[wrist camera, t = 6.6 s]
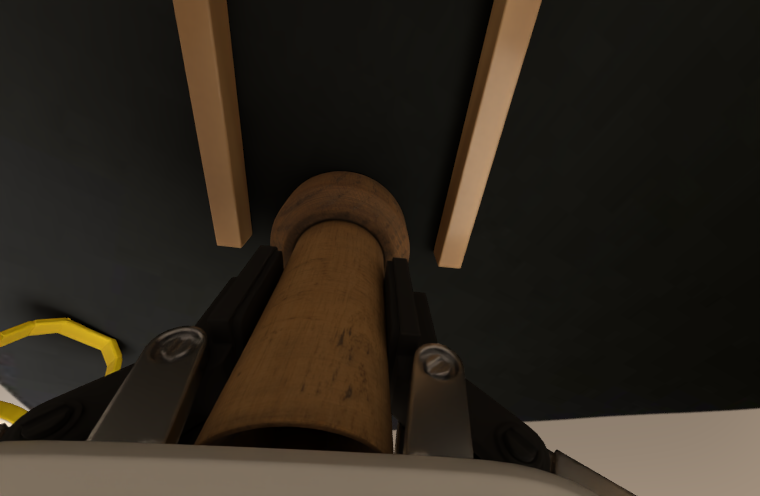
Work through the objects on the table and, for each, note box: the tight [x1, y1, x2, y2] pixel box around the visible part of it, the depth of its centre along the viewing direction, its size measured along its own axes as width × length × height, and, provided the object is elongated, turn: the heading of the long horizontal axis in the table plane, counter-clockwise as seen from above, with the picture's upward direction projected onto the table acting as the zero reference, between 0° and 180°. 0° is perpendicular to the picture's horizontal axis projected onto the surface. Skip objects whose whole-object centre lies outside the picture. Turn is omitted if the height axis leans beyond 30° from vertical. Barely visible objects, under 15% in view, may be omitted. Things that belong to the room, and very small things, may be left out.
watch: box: [0, 318, 123, 427], centre depth 16 cm, size 6×3×6 cm, turn 42°
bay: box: [173, 0, 542, 268], centre depth 12 cm, size 12×13×2 cm
